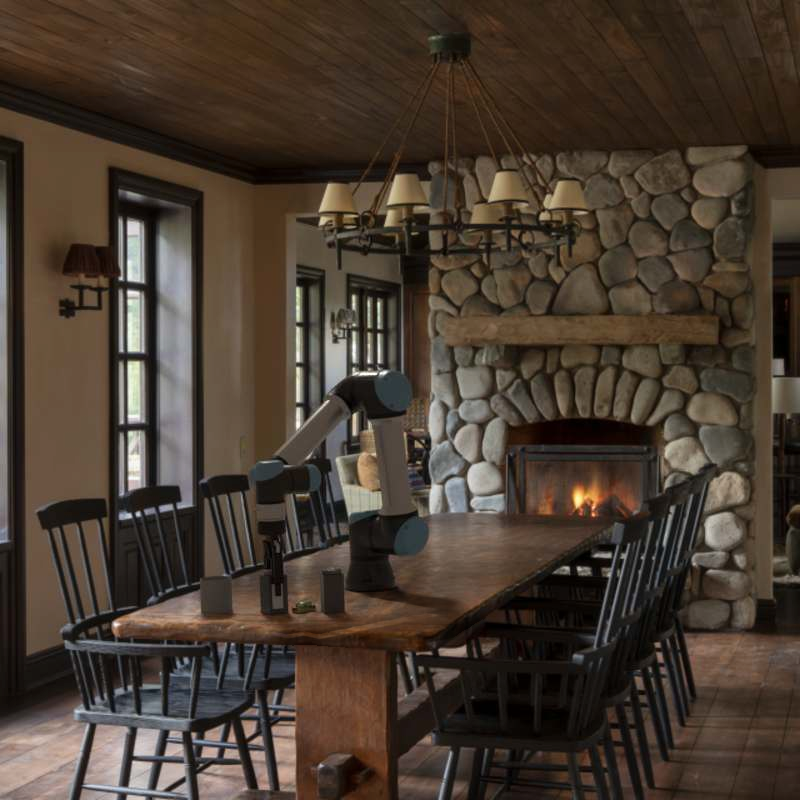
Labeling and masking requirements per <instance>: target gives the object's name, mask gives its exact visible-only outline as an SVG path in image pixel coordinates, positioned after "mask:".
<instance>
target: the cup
mask: <svg viewBox="0 0 800 800" xmlns="http://www.w3.org/2000/svg"><path fill="white" fill-rule="evenodd" d="M232 581H233V580H232V576H229V575H212V576H205V577H201V578H199V587H200V588H199V590H200V591H199V592H200V613H202V614H208V615H218V614H225V613H226V614H227V613H230V612H232V611H234V610H233V609H234V607H233V587H232V586H233V584H232V583H233V582H232Z"/></svg>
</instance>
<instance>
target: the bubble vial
mask: <svg viewBox="0 0 800 800" xmlns="http://www.w3.org/2000/svg"><path fill="white" fill-rule="evenodd" d="M316 609H317V606H316V604H313V602H312V601H311V600H310V601H309V600H307V601H303V602H297V603H295V606H292V607H291V611H292V612H291V613H294V614H297V615H298V614H304V613H308V612H314V611H317V610H316Z"/></svg>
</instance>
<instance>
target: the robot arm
mask: <svg viewBox="0 0 800 800" xmlns="http://www.w3.org/2000/svg"><path fill="white" fill-rule="evenodd" d="M413 395H414V394H413V386H412V384H411V382H410V380H409V378H408V377H407V376H406V375H405V374H404V373H402V372H401V371H399V370H393V369H377V370H376V369H375V370H359V371H356V372H353V373H350V374H349V375H347V376H346V377H345V378H343V379H342V380H340V381H339V382H338V383H336V385H334V387H332V388H331V389H330V390H329V392H327V393H326V395H325V396H323V403H321V405H320V406H319V407H318V408H316V410H315V411H314V412H313V413H312V414H311V415H310V416H309V417H308V418H307V419H306V420H305V421H304V422H303V423H302V424H301V425H300V426H299V428H297V429H296V431H295V432H294V433H292V434H291V435H290V437H288V439H287V440H286V441H285V442H284V443H283V444H282V445H281V446H280V447H279V448H278V449H277V450H276V451H274V453H273V454H272V455H271V456H270V457H269V459H267V460H262V461H258V462H256V463H255V464H254V465H253V466H252V467H251V468H250V470H249V473H248V481H249V483H250V485H251V487H252V488H254V489H255V498H256V507H255V508H254V511H255V512H256V517H257V520H258V521H257V522H256V524H257V525H256V527H257V528H256V530H257V534H258V535H259V536H265V539H262V541H261V542H262V548H263V549H262V551H263V554H262V555H263V557H262V558H263V571H264V570H270V569H271V571H272V582H270V585H271V584H272V604H273V609H279V608H283V587H282V583H283V582H284V574H285V572H284V558H283V556H284V555H283V553H284V552H283V546H284V545H283V543H282V541H280V535H284V534H286V532H287V524H286V523H287V521H286V519H285V518H286V517H287V516H286V499H285V498H286V497H285V496H288V495H294V494H295V495H296V494H304V493H306V494H309V493H311V492H315V491H317V490H318V489H319V488H320V486H321V483H322V474H321V471H320V469H319V468H318V467H317V466H316V465H315V464H306V463H305V464H304V462H305V460H307V459H308V457H309V456H310V455H311V454H312V453H313V452H314V451H315V450H316V449H317V448H318V447H319V446H320V445H321V444H322V443H323V442H324V440H325V439H327V437H329V436H330V434H331V433H332V432H333V431H334V430H336V428H337V427H338V425H340V424H341V422H343V421H347V420H349V419H350V418H351V417H353V416H354V414H357V413H360V412H362V411H364V412H365V417H366V420H367V421H368V422H369V423H370V424H371V425H372V431H373V439H374V448H375V455H376V463H377V471H378V472H377V473H378V480H379V488H380V497H381V504H382V505H381V507H380V508H378V509H377V508H376V509H369V510H360V511H354V512H351V513H350V515H349V517H348V542H349V543H348V544H349V564H348V569H347V573H346V578H344V589H346V590H349V591H352V592H353V591H355V592H377V591H378V592H379V591H386V590H391V589H394V588H396V587H397V581H396V576H395V574H394V570H393V567H392V564H391V562H390V556H396V557H397V556H398V557H401V558H403V557H404V558H406V557H415V556H417V555H419V554H420V553H422V551H423V550H424V549H425V546H426V545H427V543H428V541H429V536H430V527H429V525H428V522H427V520H425V519H424V518H423V517H422V516H420V514H419V507H418V506H417V505H416V504H415V503H414V502H413V501H412V500H413V499H412V493H411V492H412V490H411V483H410V476H409V467H408V458H407V450H406V443H405V442H406V441H405V433H404V425H403V421H404V419H405V418H406V416H407V409H408V408H409V407H410V405H411V401H413Z"/></svg>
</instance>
